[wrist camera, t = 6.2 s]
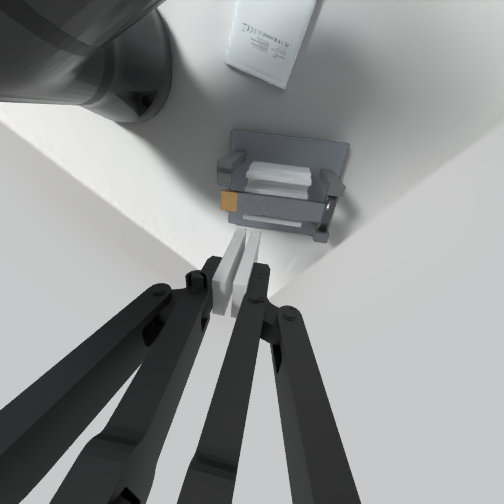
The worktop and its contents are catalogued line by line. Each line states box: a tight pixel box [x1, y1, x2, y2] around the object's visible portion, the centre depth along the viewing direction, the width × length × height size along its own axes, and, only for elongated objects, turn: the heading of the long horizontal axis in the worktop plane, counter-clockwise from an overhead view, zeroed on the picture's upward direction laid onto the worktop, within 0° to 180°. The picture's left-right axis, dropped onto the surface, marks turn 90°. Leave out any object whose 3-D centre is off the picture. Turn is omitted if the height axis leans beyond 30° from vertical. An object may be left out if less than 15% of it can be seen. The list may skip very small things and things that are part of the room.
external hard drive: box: [224, 0, 317, 90], centre depth 23 cm, size 2×8×12 cm
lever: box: [221, 189, 338, 232], centre depth 26 cm, size 14×4×1 cm, turn 85°
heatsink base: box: [217, 130, 349, 243], centre depth 29 cm, size 16×14×10 cm
